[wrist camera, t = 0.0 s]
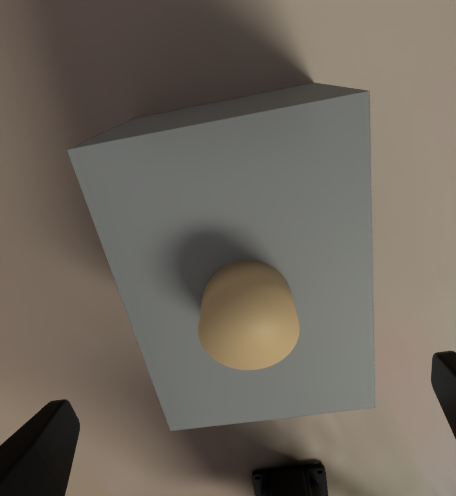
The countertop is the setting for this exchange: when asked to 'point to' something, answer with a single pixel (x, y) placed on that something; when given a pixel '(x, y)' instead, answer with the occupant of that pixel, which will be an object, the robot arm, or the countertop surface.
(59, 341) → the countertop surface
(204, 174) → the gray block
